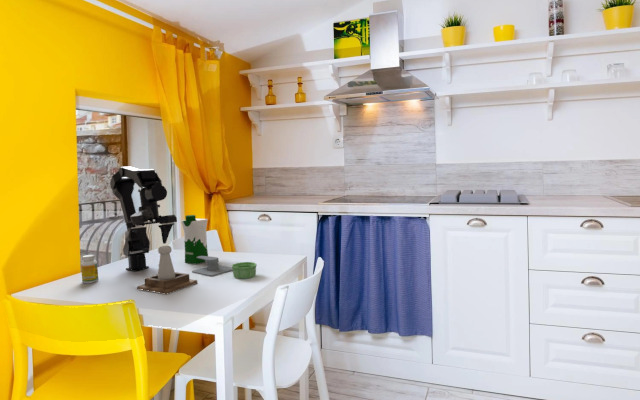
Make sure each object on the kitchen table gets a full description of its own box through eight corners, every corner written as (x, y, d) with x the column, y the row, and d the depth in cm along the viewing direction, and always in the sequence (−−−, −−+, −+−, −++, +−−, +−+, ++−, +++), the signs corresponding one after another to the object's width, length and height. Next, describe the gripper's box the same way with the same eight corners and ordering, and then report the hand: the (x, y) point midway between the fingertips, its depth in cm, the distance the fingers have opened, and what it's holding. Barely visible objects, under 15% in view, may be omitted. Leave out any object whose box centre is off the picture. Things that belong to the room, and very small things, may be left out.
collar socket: (137, 289, 156) (136, 279, 156) (168, 278, 168) (168, 269, 168) (166, 294, 149) (165, 283, 149) (197, 283, 162) (196, 273, 161)
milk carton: (181, 262, 194) (178, 215, 192) (197, 258, 201) (195, 213, 199) (196, 265, 189) (193, 216, 187) (212, 260, 196) (209, 214, 194)
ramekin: (245, 280, 163) (244, 268, 162) (227, 277, 168) (226, 265, 167) (262, 275, 170) (261, 263, 170) (244, 272, 175) (243, 260, 175)
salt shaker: (156, 282, 160) (154, 245, 159) (173, 279, 163) (171, 243, 162) (160, 286, 155) (157, 248, 154) (177, 283, 158) (174, 246, 157)
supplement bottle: (82, 280, 170) (80, 255, 169) (98, 278, 172) (96, 253, 171) (82, 284, 165) (79, 258, 164) (98, 282, 167) (96, 256, 166)
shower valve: (211, 252, 188) (236, 256, 179) (212, 265, 189) (236, 270, 179) (185, 258, 178) (210, 263, 169) (186, 272, 179) (211, 277, 170)
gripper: (113, 207, 166) (118, 249, 166) (155, 200, 160) (160, 245, 160) (134, 205, 177) (140, 245, 177) (175, 199, 170) (180, 241, 170)
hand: (154, 244), depth 171 cm, fingers open, 9 cm apart
